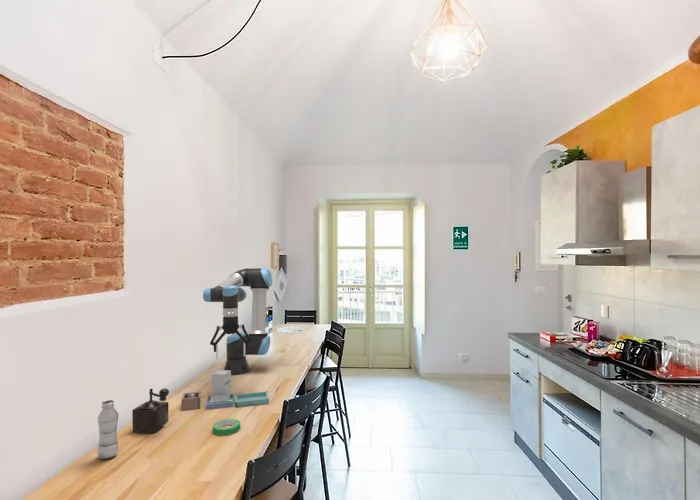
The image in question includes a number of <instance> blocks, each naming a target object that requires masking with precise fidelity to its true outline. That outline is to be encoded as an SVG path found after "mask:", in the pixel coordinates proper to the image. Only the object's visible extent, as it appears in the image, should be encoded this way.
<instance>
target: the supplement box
mask: <svg viewBox="0 0 700 500" xmlns="http://www.w3.org/2000/svg"><path fill="white" fill-rule="evenodd" d="M210 376H211V379H210V380H211V381H210V382H211V392H210V394H211V395H220V394H230V393H232V375H231V371H229V370H224V369H222V370H221V369H218V370H216V371H215V372H213V373H211V375H210Z"/></svg>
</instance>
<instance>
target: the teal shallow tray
mask: <svg viewBox="0 0 700 500" xmlns="http://www.w3.org/2000/svg"><path fill="white" fill-rule="evenodd" d="M269 404H270V397H269V392H268V391H266V390H265V391H256V392H248V393H238V394H237V393H236V394H235V396H234V408H235V409H236V408H243V407H251V406H253V407H254V406H261V405H269Z"/></svg>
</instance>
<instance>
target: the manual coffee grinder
mask: <svg viewBox="0 0 700 500" xmlns="http://www.w3.org/2000/svg"><path fill="white" fill-rule="evenodd" d="M148 394H149V400H148V401H145V402H143V403H142V404H140V405H138V406H137V407H135V408H133V409H132V431H131V432H132V433H134V434H135V433H136V434H155V433H157V432H159V431H160V430H162V429H164V428H165V425H166V424H168V422H169V401H167V396H168V395H169V394H170V391H169V389H168V388H162V389H160V390H159V393H154V392H153V388H150V389H149V393H148ZM154 396H155V397H157V398H159V401H158V400H153V397H154Z"/></svg>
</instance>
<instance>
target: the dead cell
mask: <svg viewBox="0 0 700 500" xmlns="http://www.w3.org/2000/svg"><path fill="white" fill-rule="evenodd" d="M187 393H188V398H194V397H196V393H194V392H187Z"/></svg>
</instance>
